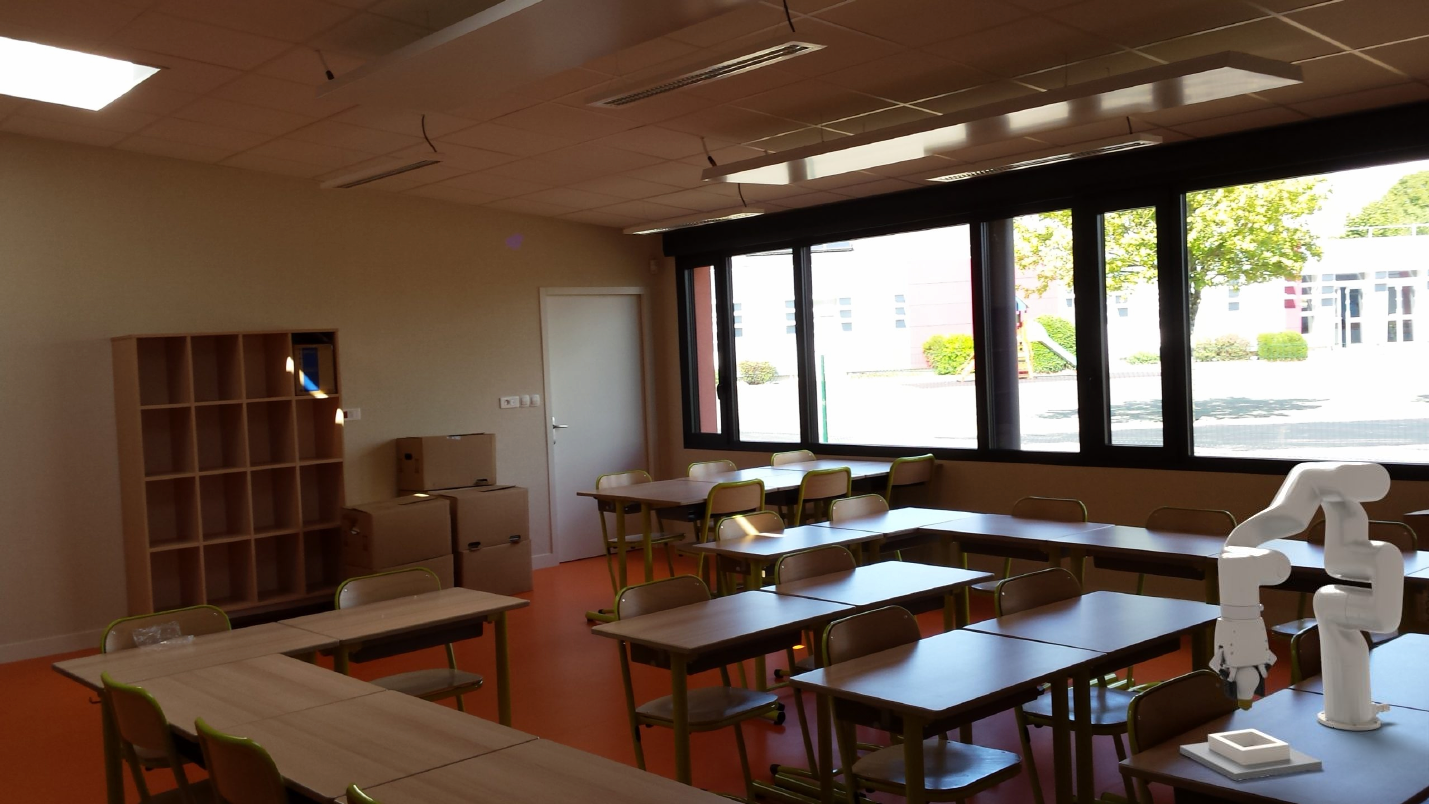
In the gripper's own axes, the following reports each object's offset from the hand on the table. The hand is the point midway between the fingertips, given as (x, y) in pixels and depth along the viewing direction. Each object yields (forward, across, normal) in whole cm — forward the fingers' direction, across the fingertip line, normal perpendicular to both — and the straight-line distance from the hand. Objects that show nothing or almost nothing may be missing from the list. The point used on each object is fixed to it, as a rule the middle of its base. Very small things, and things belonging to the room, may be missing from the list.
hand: (1244, 696), depth 224 cm
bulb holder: (+14, 0, 0) cm, 14 cm away
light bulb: (+3, 0, 0) cm, 3 cm away
